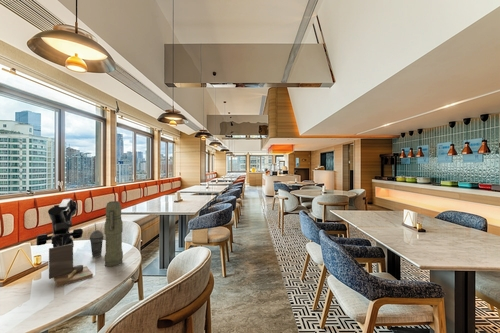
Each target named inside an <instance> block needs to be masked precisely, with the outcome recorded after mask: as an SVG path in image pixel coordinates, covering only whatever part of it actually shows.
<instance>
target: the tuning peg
mask: <svg viewBox="0 0 500 333" xmlns="http://www.w3.org/2000/svg"><path fill="white" fill-rule="evenodd" d="M83 267H84V264H79V265H74V247H73V244H68V245H63V246H58V247H53V246H52V247H49V248H48V279H49V280H51V279H54V278H55V277H59V276H62V275H66V274H69V273H71V274H69V275H68V278H70V277H71V276H73V275H74V274H75V273H76V272H80V271H82V270H83Z"/></svg>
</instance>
